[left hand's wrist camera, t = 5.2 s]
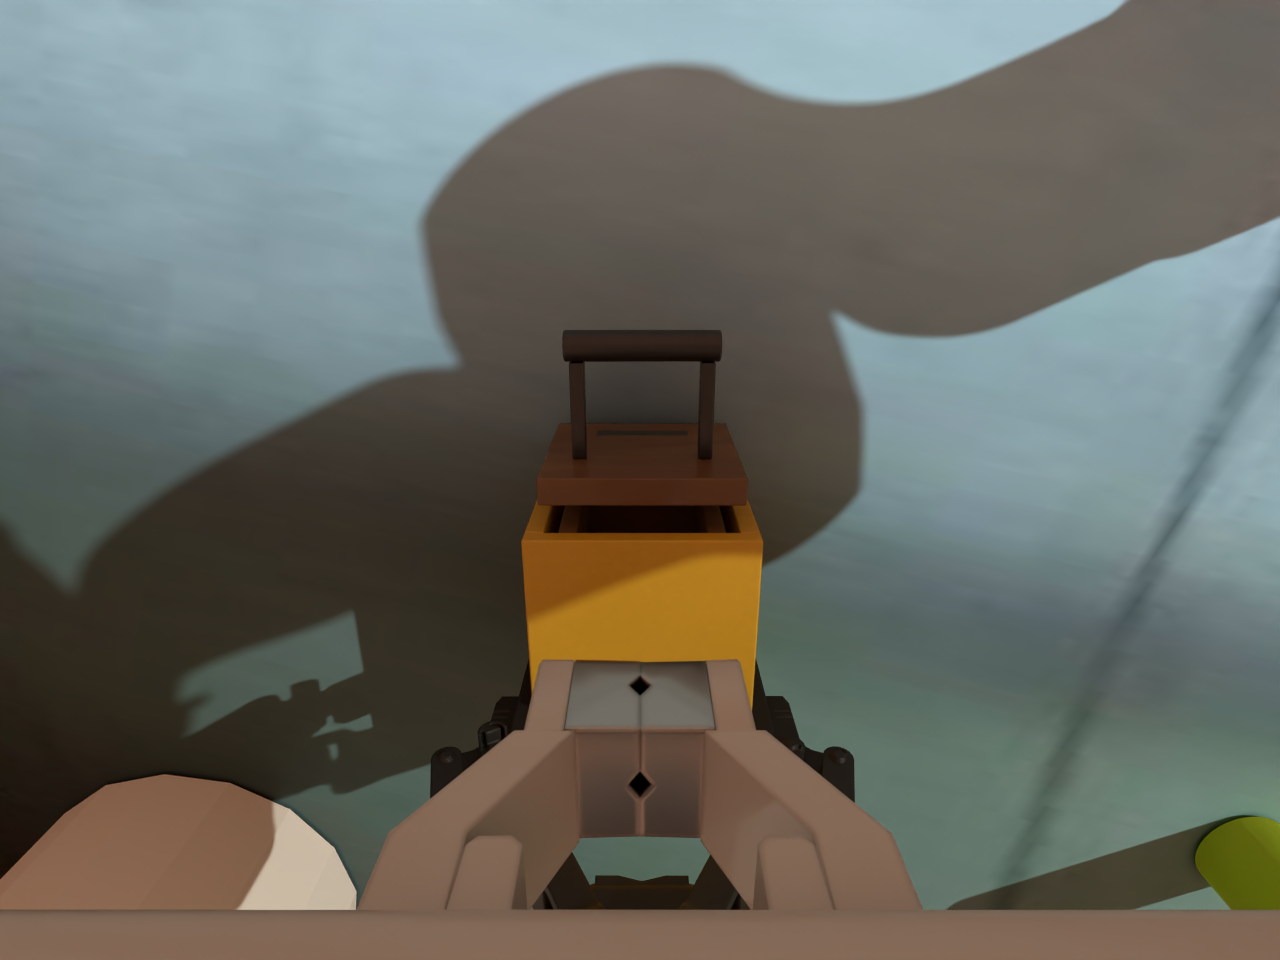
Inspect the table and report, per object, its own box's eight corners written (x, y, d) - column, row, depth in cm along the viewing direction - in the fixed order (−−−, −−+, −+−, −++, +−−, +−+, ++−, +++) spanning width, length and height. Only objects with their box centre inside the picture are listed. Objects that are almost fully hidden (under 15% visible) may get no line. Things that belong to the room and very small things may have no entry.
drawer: (554, 313, 33) (528, 340, 26) (730, 313, 33) (756, 340, 26) (568, 647, 40) (551, 747, 32) (716, 647, 40) (733, 747, 32)
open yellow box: (551, 460, 37) (520, 540, 28) (733, 460, 37) (764, 540, 28) (562, 687, 42) (539, 819, 33) (722, 687, 42) (745, 820, 33)
